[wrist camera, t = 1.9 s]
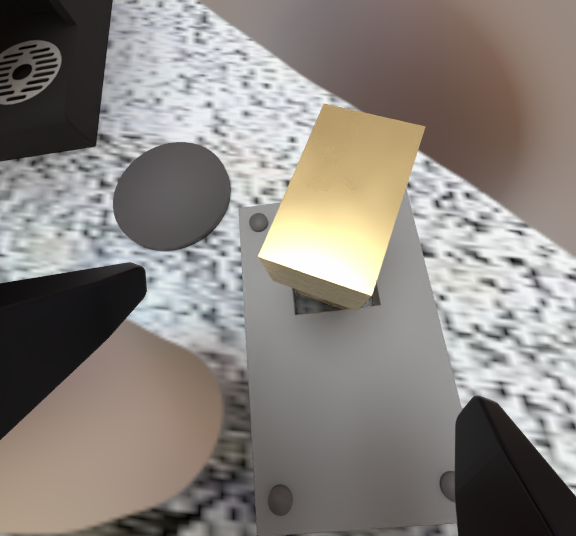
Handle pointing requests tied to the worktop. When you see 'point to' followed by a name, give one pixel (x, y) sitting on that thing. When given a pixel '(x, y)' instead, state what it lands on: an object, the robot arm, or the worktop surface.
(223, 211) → the rubber mat
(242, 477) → the worktop surface
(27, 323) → the robot arm
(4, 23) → the coffee maker
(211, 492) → the worktop surface
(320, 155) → the t key
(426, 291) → the slot plate
